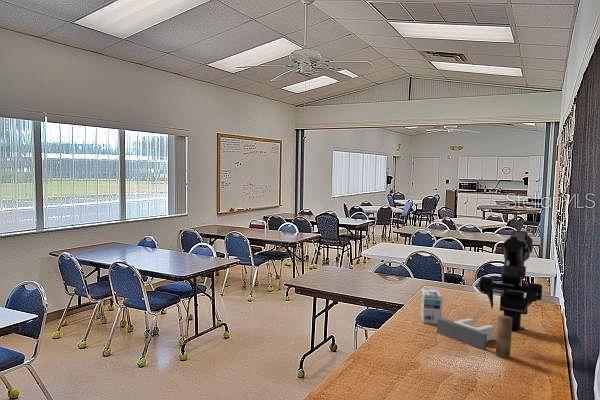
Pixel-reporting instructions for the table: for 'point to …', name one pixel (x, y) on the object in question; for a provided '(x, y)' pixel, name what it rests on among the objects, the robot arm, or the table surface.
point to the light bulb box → (431, 306)
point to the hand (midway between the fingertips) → (507, 309)
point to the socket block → (486, 329)
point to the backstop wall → (462, 333)
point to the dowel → (504, 336)
